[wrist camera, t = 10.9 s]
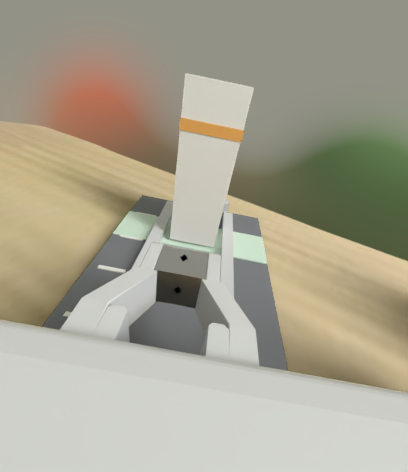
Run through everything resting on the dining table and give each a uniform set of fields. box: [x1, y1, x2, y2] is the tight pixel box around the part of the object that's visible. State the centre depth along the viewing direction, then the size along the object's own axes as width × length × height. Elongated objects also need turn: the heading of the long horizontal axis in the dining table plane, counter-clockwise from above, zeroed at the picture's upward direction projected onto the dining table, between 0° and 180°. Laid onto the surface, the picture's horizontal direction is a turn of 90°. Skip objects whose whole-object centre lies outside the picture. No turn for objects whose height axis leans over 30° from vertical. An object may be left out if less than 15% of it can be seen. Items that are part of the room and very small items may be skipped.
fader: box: [170, 74, 254, 247], centre depth 17 cm, size 4×3×12 cm
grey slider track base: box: [42, 195, 288, 371], centre depth 16 cm, size 14×24×3 cm, turn 174°
